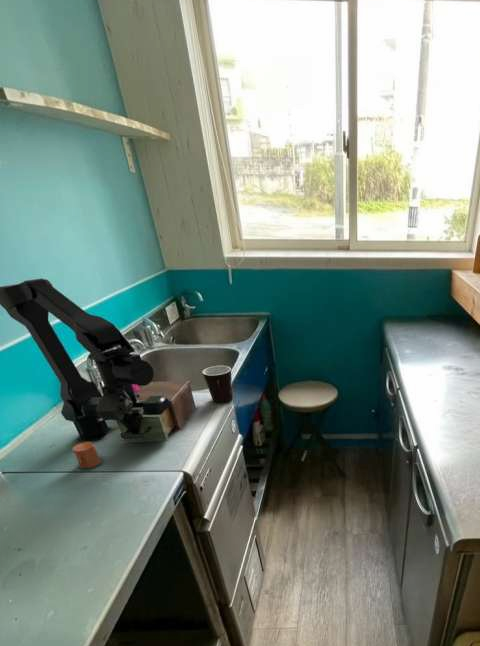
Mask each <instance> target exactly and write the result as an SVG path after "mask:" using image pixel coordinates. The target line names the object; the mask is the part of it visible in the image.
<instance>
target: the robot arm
mask: <svg viewBox="0 0 480 646" xmlns="http://www.w3.org/2000/svg"><path fill="white" fill-rule="evenodd" d="M0 306H1V307H2V308H3V309H4V310H5V311H6V313H7V314H8V315H9V317H10V318H11V319H13V320H15V321H16V322H18V323H19V324H21V325H22V326H24V327H25V328H26V329H27V331H28V333H29V334H30V337H32V339H33V341H34V342H35V344H36V346H37V347H38V349H39V350H40V352H41V354H42V355H43V357H44V358H45V361H46V362H47V363H48V365H49V367H50V369H51V370H52V372H53V373H54V375H55V376H56V378H57V379H58V381H59V383H60V392H59V396H60V398H61V400H62V401H63V405H62V408H61V411H60V414H61V415H62V417H63V418H64V419H65V421H69V422H72V423H73V425H74V427H75V429H76V432H77V434H78V436H77V437H76V438H75V439H76V440H77V441H100V440H102V438H104V437H105V435H107V433H109V432H110V431H111V430H112V427H110V426H108V423H107V422H108V421H115V422H116V421H118V420H119V421H120V422H121V423H123V424H124V425H125V426H126V427H127V429H128V430H129V431H130V432H131V433H140V430H141V422H142V417H143V413H146V414H147V415H160V414H162V413H163V412H164V411H165V410H166V409H167V407H168V406H169V401H168V399H167V398H166V397H165V396H150V397H149V398H148V399H147V400H146V401H144V400H141V401H138V399H139V398H140V396H139V394H136V393H135V391H134V388H133V385H132V384H135V385H137V386H138V387H142V386H146V385H148V384H149V383H150V382H153V379H154V368H153V366H152V365H151V364H150V363H149V362H148V361H147V360H144V359H142V357H141V355H140V354H138V353H135V352H136V349H135V348H134V347H133V346H132V342H130V340H129V339H127V338H126V337H125V335H124V334H123V333H122V332H121V330H120V329H119V328H118V327H117V326H116V325H115V324H114V323H112V322H111V321H109V320H107V319H106V318H104V317H102V316H99V315H95V314H90V313H88V312H87V311H85V310H84V309H83V308H82V307H80V306H79V305H77V304H76V303H75V302H73V300H71V299H70V298H68V297H67V296H66V295H64V294H63V293H62V292H60V291H59V290H58V289H56V288H55V287H54V285H53V284H52V283H51V282H50V281H49V280H48V279H46V278H34V279H28V280H24V281H22V282H20V283H16V284H10V285H9V284H8V285H3V286H0ZM49 313H50V314H51V315H52V316H53V317H55V318H56V319H57V320H59V322H62V323H63V324H64V325H65V326H67V327H68V328H69V329H70V330H72V331H73V333H74V336H75V339H76V342H78V343H79V345H81V346H82V347H83V348H84V349H85V350H86V351H87V352H88V356H87V358H88V359H89V360H91V361H94V363H95V365H96V369H97V370H98V373H99V376H100V378H101V381H102V383H103V386H101V392H102V393H101V392H100V390H99V389H98V387H97V384H96V383H95V382H94V381H92V380H90V381H89V380H87V379H86V378H84V377H82V375H81V373H80V372H79V370H78V368H77V366H76V365H75V363H74V361H73V359H72V358H71V356H70V355H69V353H68V351H67V350H66V348H65V346H64V344H63V342H62V341H61V340H60V338H59V335H57V332H56V331H55V329H54V328H53V326H52V324H51V323H50V321H49V315H50V314H49ZM112 348H117V349H114V350H111V349H112ZM89 353H90V354H89Z"/></svg>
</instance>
